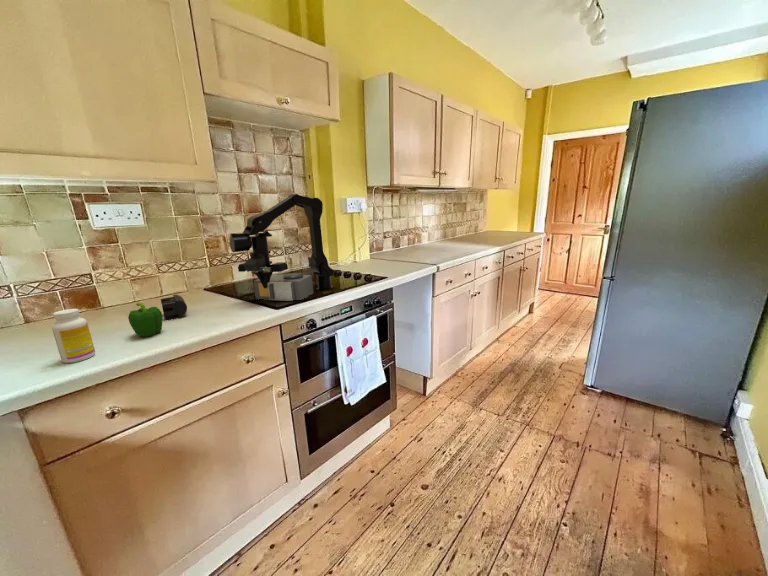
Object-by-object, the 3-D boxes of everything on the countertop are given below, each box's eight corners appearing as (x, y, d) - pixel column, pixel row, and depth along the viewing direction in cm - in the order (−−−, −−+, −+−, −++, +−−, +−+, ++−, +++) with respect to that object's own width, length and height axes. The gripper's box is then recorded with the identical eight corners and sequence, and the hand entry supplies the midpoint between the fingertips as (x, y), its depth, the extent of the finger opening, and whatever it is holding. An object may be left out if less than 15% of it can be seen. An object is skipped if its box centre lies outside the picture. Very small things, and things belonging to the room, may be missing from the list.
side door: (272, 298, 133) (270, 281, 132) (294, 299, 131) (293, 281, 129) (268, 300, 131) (266, 283, 129) (291, 301, 129) (289, 283, 127)
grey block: (272, 292, 147) (269, 272, 145) (313, 293, 143) (311, 272, 140) (256, 299, 136) (253, 278, 134) (300, 301, 131) (298, 278, 129)
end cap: (189, 316, 117) (185, 298, 115) (165, 321, 113) (161, 302, 112) (185, 310, 125) (182, 293, 123) (163, 314, 121) (160, 296, 119)
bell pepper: (168, 333, 101) (161, 302, 99) (135, 341, 96) (128, 309, 93) (162, 327, 107) (156, 297, 105) (131, 334, 102) (123, 303, 99)
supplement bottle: (102, 353, 89) (90, 307, 85) (74, 364, 82) (60, 316, 79) (84, 351, 90) (71, 306, 87) (55, 362, 84) (40, 314, 81)
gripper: (225, 252, 122) (232, 293, 126) (270, 252, 118) (275, 294, 122) (244, 248, 133) (249, 286, 137) (286, 247, 128) (290, 286, 132)
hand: (265, 288), depth 131 cm, fingers closed
